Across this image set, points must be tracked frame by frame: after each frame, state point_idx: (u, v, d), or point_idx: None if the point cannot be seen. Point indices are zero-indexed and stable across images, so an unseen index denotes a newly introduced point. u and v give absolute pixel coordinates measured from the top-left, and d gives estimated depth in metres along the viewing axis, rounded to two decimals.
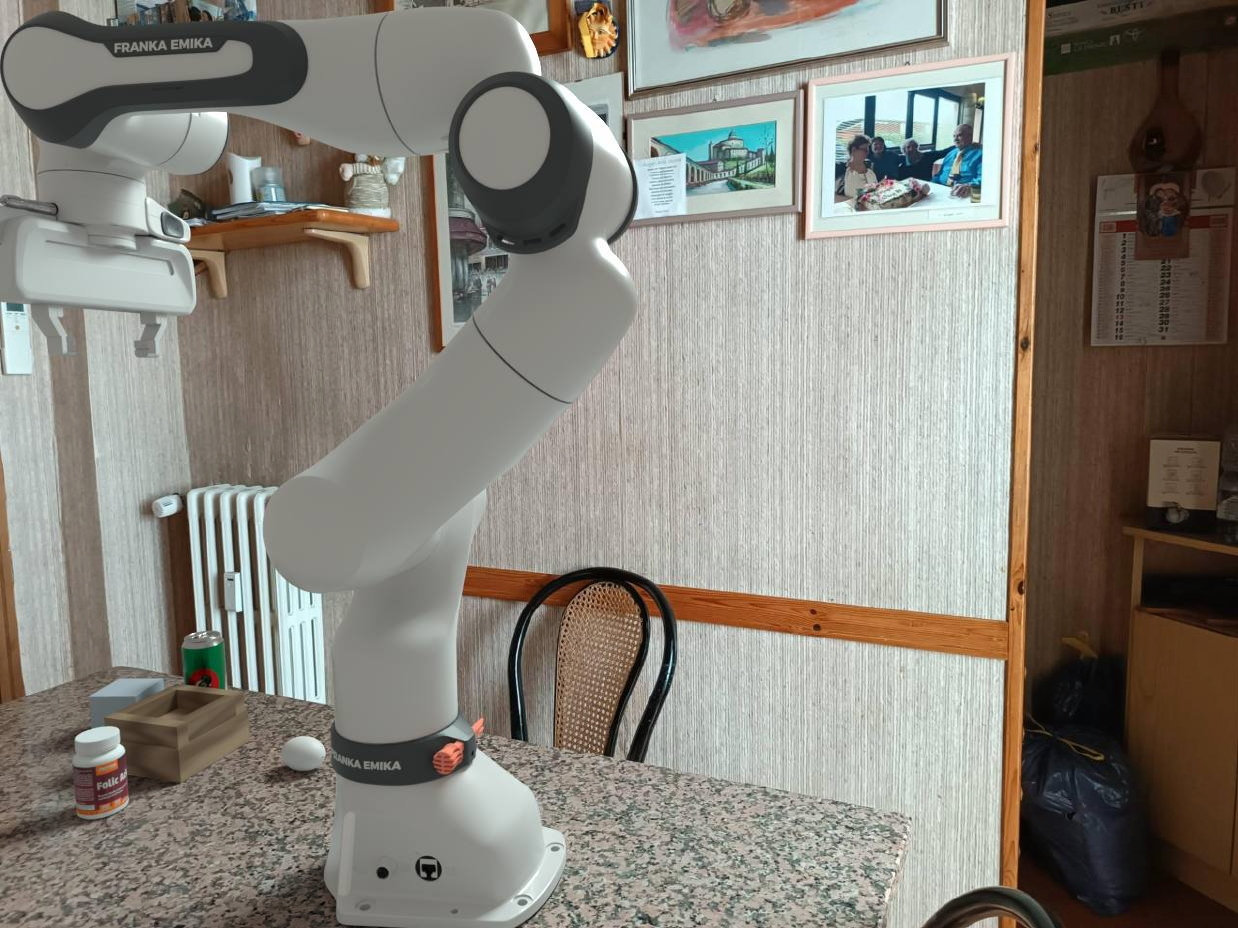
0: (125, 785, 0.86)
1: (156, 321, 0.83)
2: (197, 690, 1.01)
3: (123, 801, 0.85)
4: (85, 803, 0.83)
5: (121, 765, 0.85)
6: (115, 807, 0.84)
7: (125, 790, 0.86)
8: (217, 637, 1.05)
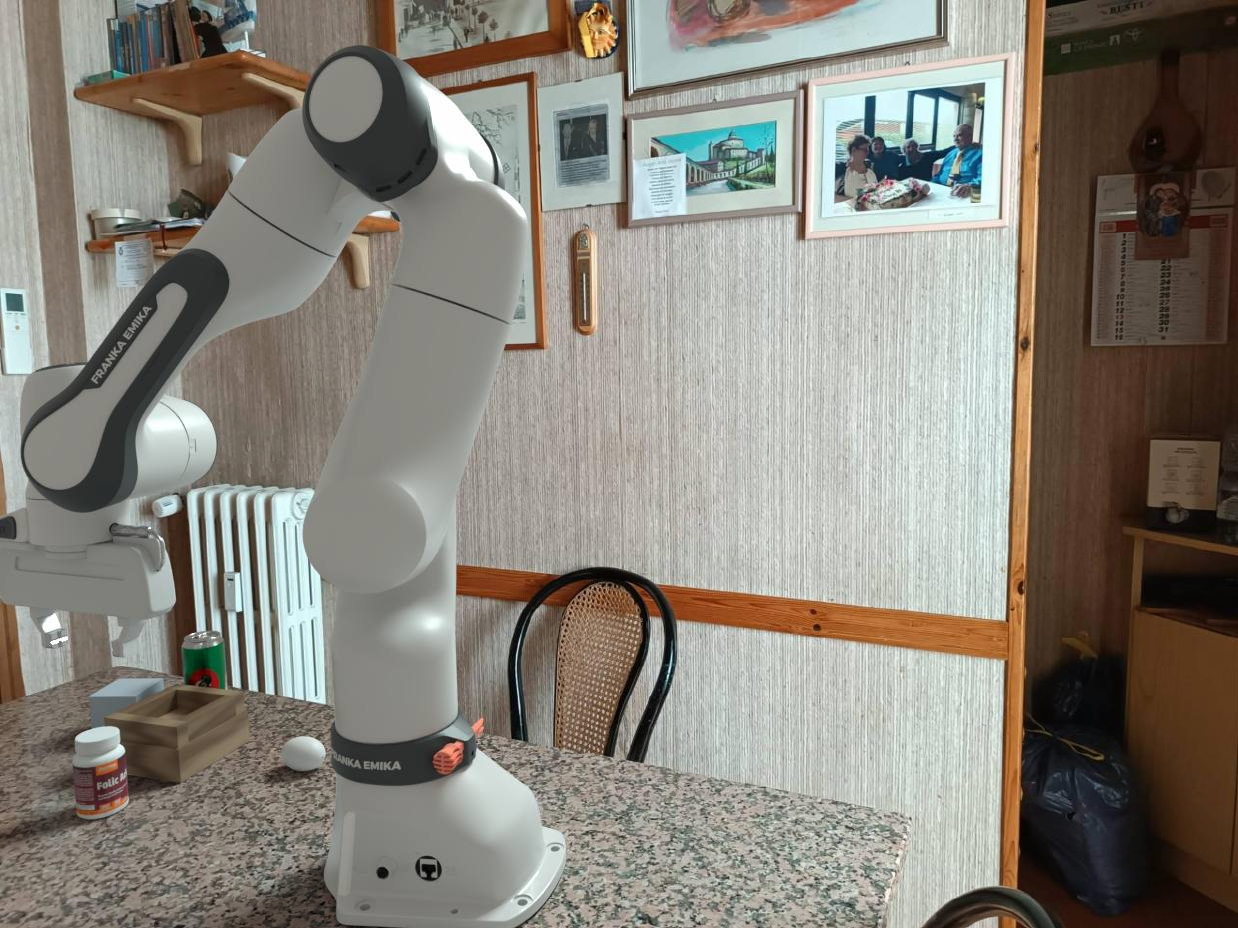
0: (125, 785, 0.86)
1: (58, 609, 0.86)
2: (197, 690, 1.01)
3: (123, 801, 0.85)
4: (85, 803, 0.83)
5: (121, 765, 0.85)
6: (115, 807, 0.84)
7: (125, 790, 0.86)
8: (217, 637, 1.05)
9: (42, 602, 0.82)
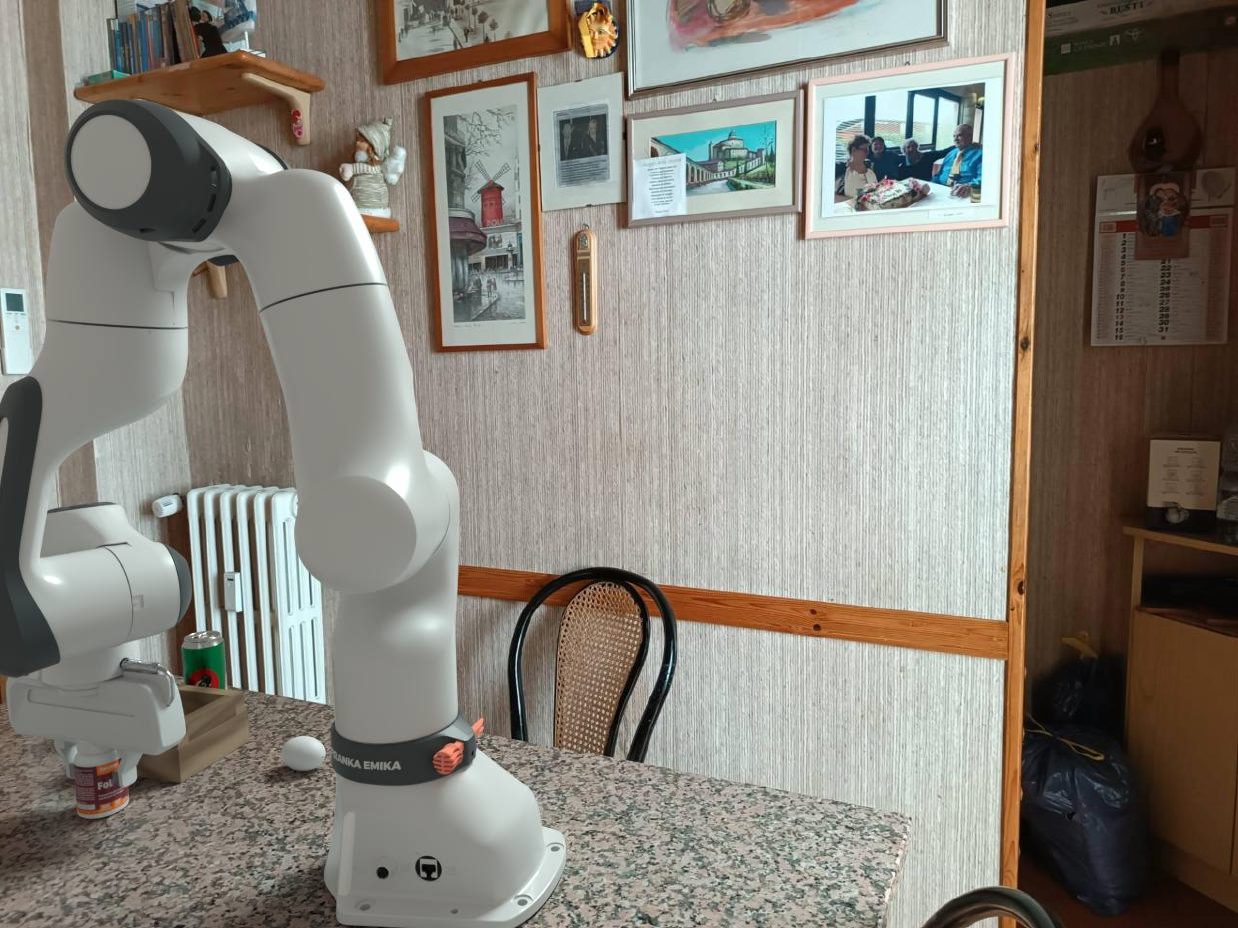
0: None
1: None
2: (197, 690, 1.01)
3: (123, 801, 0.85)
4: (86, 802, 0.83)
5: None
6: (115, 807, 0.84)
7: (125, 790, 0.86)
8: (217, 637, 1.05)
9: (55, 734, 0.84)
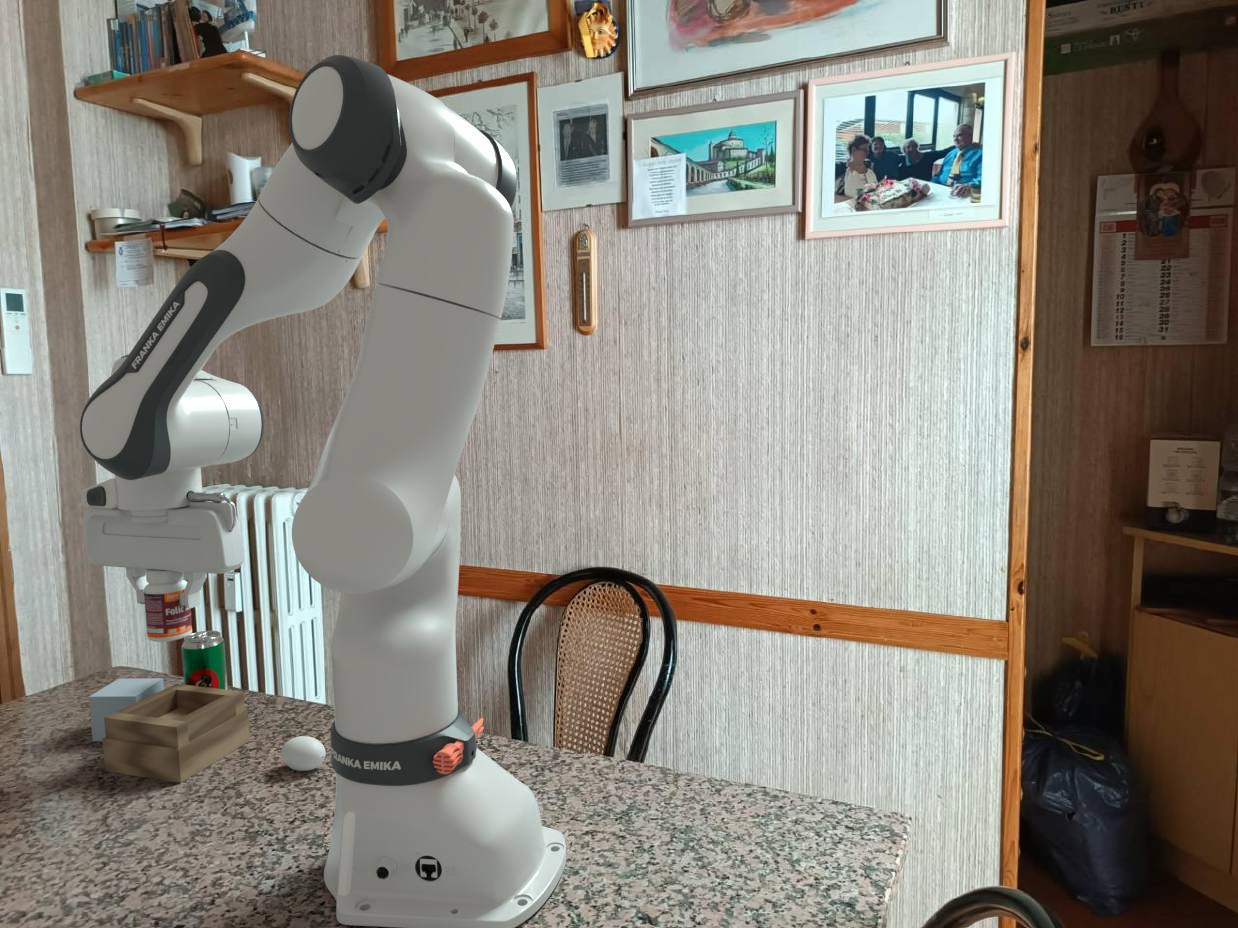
0: (189, 616, 0.96)
1: None
2: (197, 690, 1.01)
3: (187, 629, 0.95)
4: (155, 627, 0.93)
5: None
6: (180, 633, 0.94)
7: (189, 620, 0.96)
8: (217, 637, 1.05)
9: (127, 562, 0.94)
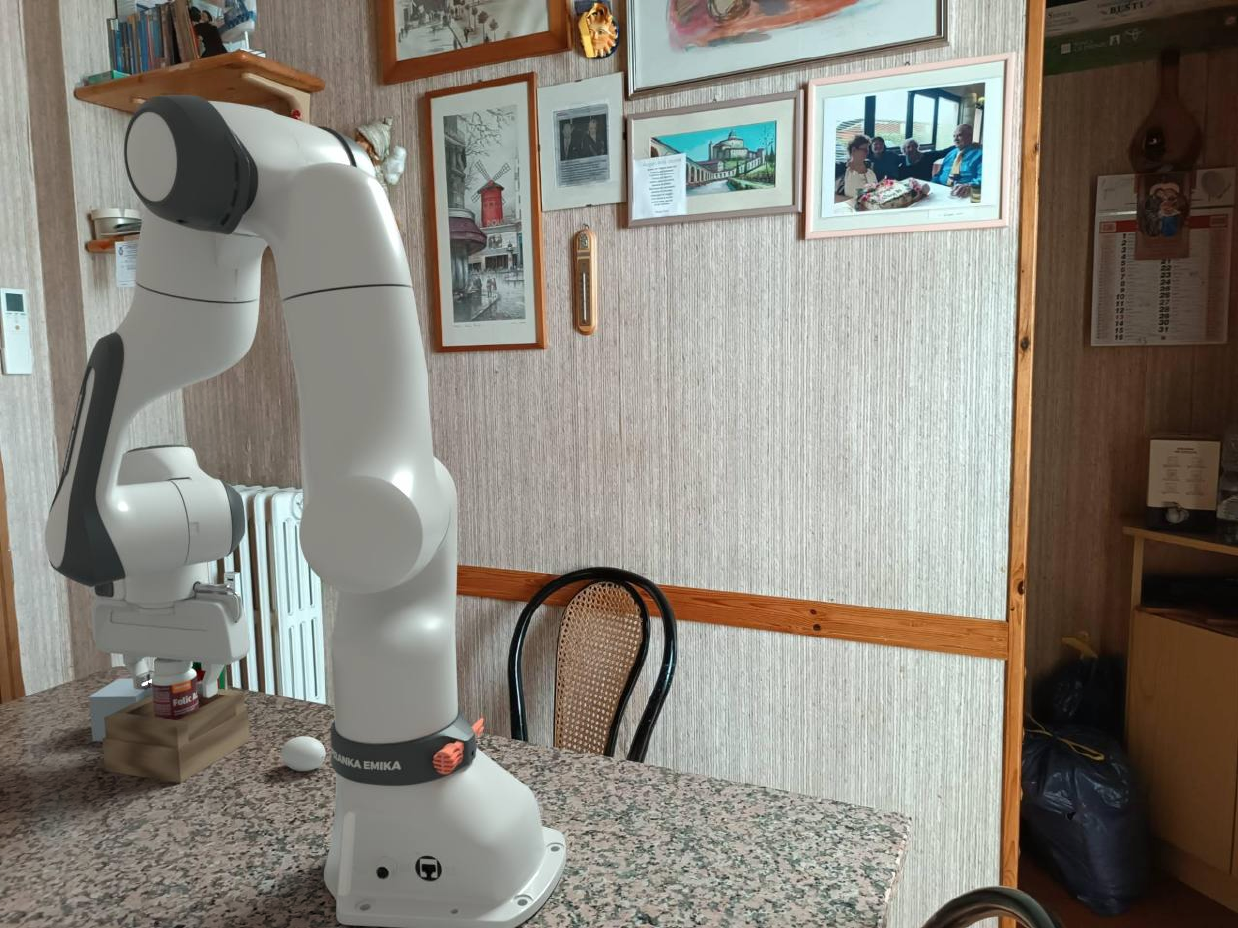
0: (196, 704, 0.97)
1: None
2: None
3: None
4: (163, 717, 0.94)
5: (193, 686, 0.96)
6: None
7: (196, 708, 0.97)
8: None
9: (135, 650, 0.95)
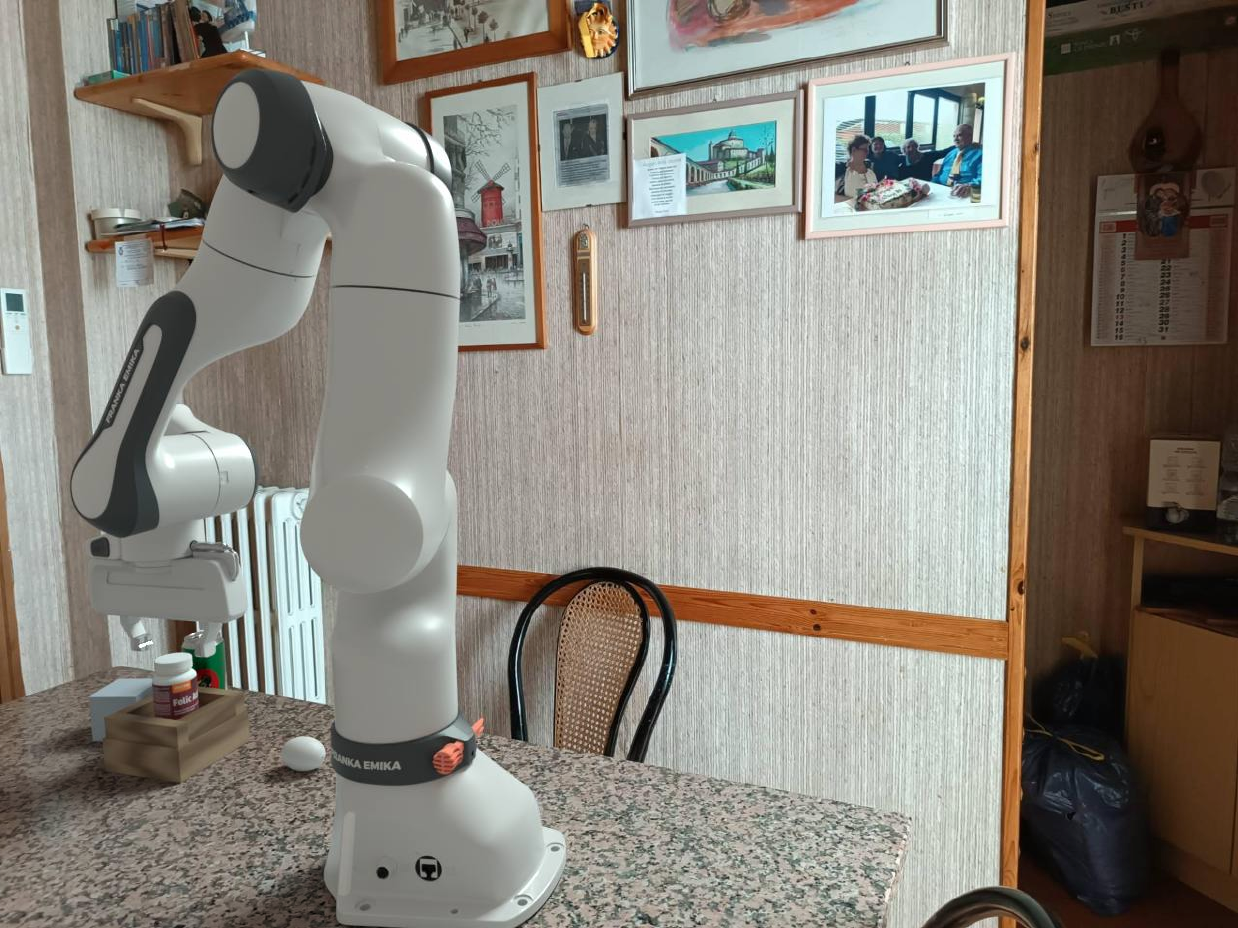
0: (196, 704, 0.97)
1: (143, 617, 0.98)
2: None
3: None
4: (163, 717, 0.94)
5: (193, 686, 0.96)
6: None
7: (196, 708, 0.97)
8: (217, 637, 1.05)
9: (132, 611, 0.95)
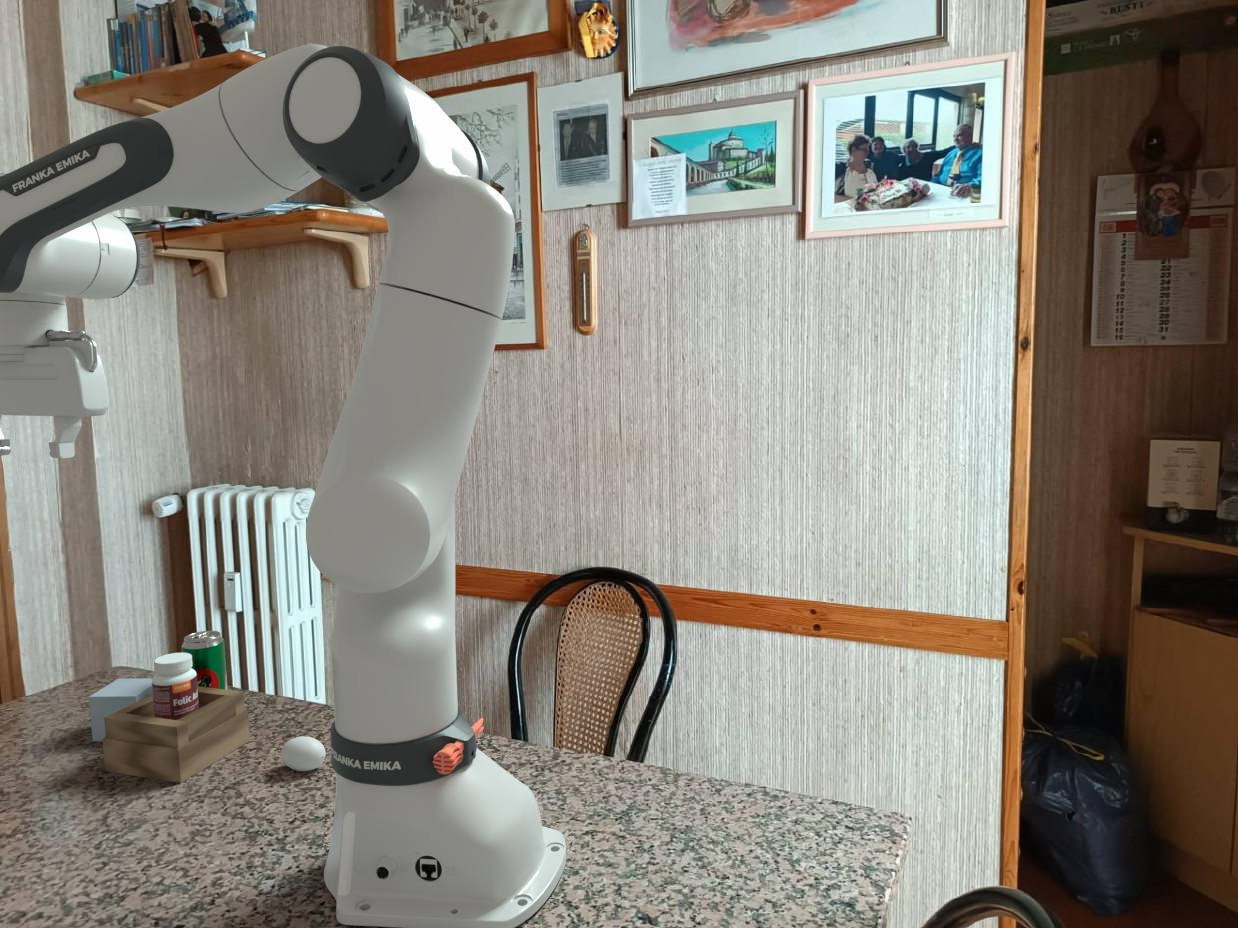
0: (196, 704, 0.97)
1: (1, 421, 0.91)
2: None
3: None
4: (163, 717, 0.94)
5: (193, 686, 0.96)
6: None
7: (196, 708, 0.97)
8: (217, 637, 1.05)
9: None
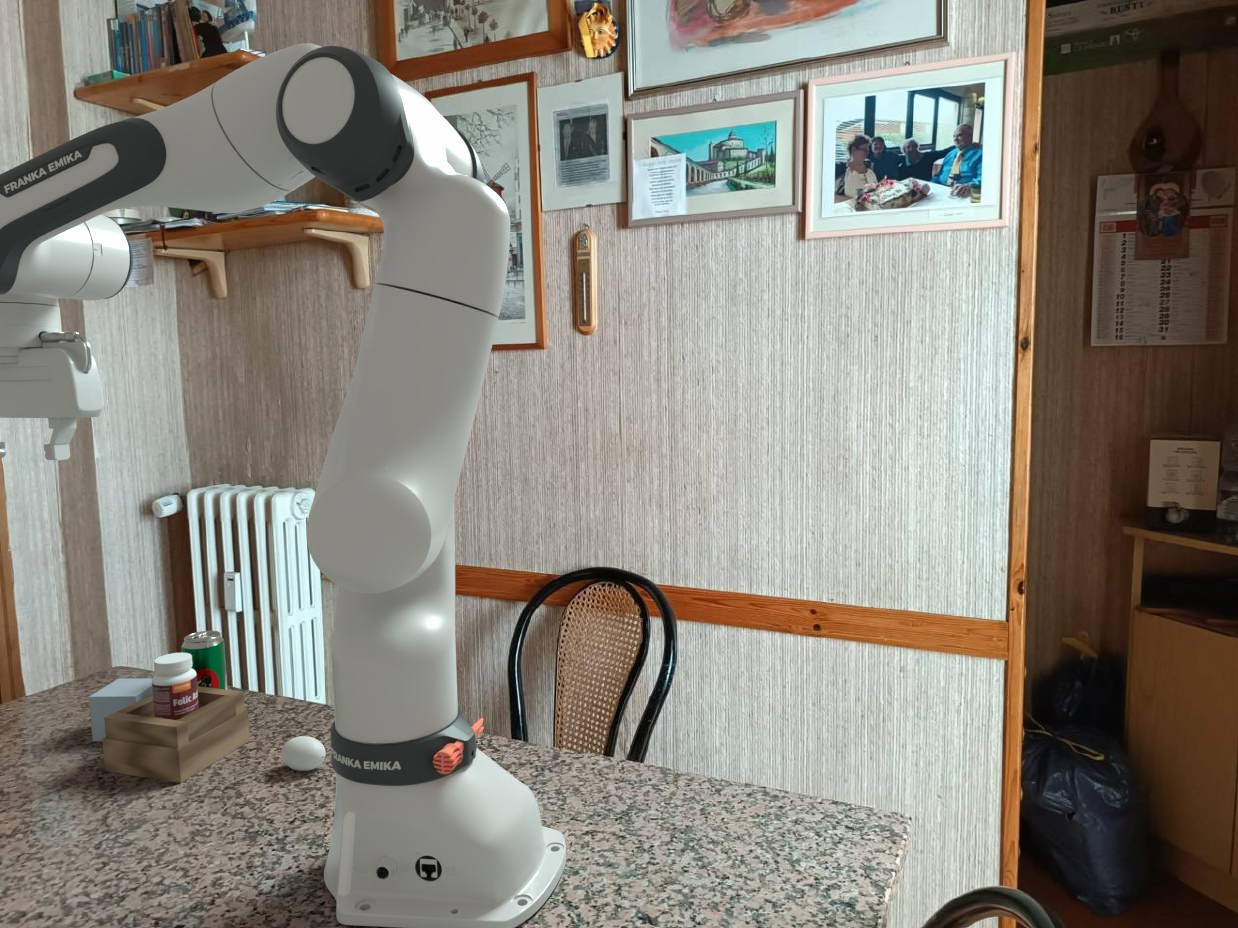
0: (196, 704, 0.97)
1: None
2: None
3: None
4: (163, 717, 0.94)
5: (193, 686, 0.96)
6: None
7: (196, 708, 0.97)
8: (217, 637, 1.05)
9: None
